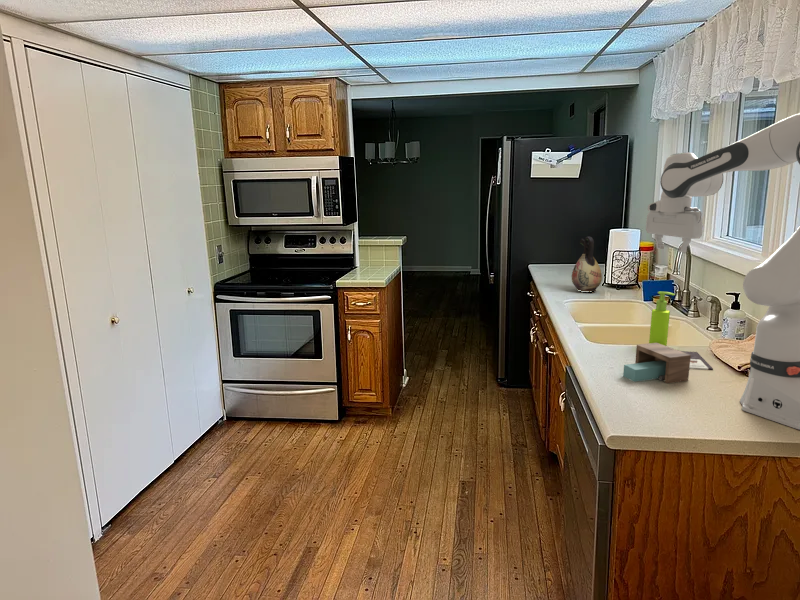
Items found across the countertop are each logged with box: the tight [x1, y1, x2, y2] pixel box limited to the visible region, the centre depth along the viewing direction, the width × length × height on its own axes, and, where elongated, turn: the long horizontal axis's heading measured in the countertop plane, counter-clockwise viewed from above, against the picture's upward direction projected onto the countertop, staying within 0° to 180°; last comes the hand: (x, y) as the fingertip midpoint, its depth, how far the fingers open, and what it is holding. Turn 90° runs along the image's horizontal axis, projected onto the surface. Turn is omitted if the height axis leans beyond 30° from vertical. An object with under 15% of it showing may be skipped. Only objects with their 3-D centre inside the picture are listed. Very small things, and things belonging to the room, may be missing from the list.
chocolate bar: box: [680, 350, 714, 371], centre depth 191 cm, size 9×1×18 cm
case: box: [622, 360, 666, 383], centre depth 175 cm, size 14×5×4 cm, turn 108°
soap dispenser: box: [648, 291, 676, 347], centre depth 205 cm, size 6×7×20 cm
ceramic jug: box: [571, 236, 603, 292], centre depth 302 cm, size 17×15×30 cm
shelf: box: [634, 342, 691, 384], centre depth 176 cm, size 14×8×8 cm, turn 18°
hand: (670, 250), depth 181 cm, fingers open, 8 cm apart
